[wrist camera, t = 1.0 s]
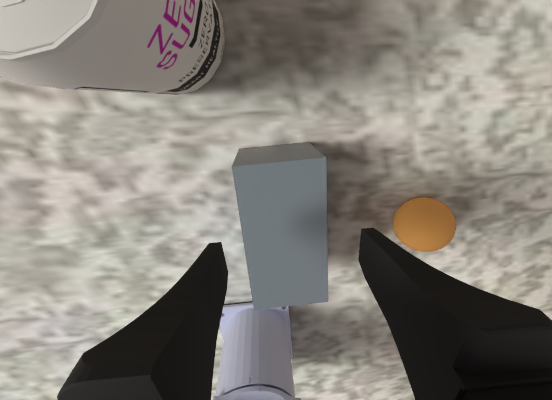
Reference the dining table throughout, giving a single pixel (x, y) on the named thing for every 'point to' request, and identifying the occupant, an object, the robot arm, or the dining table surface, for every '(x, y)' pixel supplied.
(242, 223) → the grey rectangular prism
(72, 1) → the supplement can
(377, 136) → the dining table surface
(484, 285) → the dining table surface
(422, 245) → the ball
